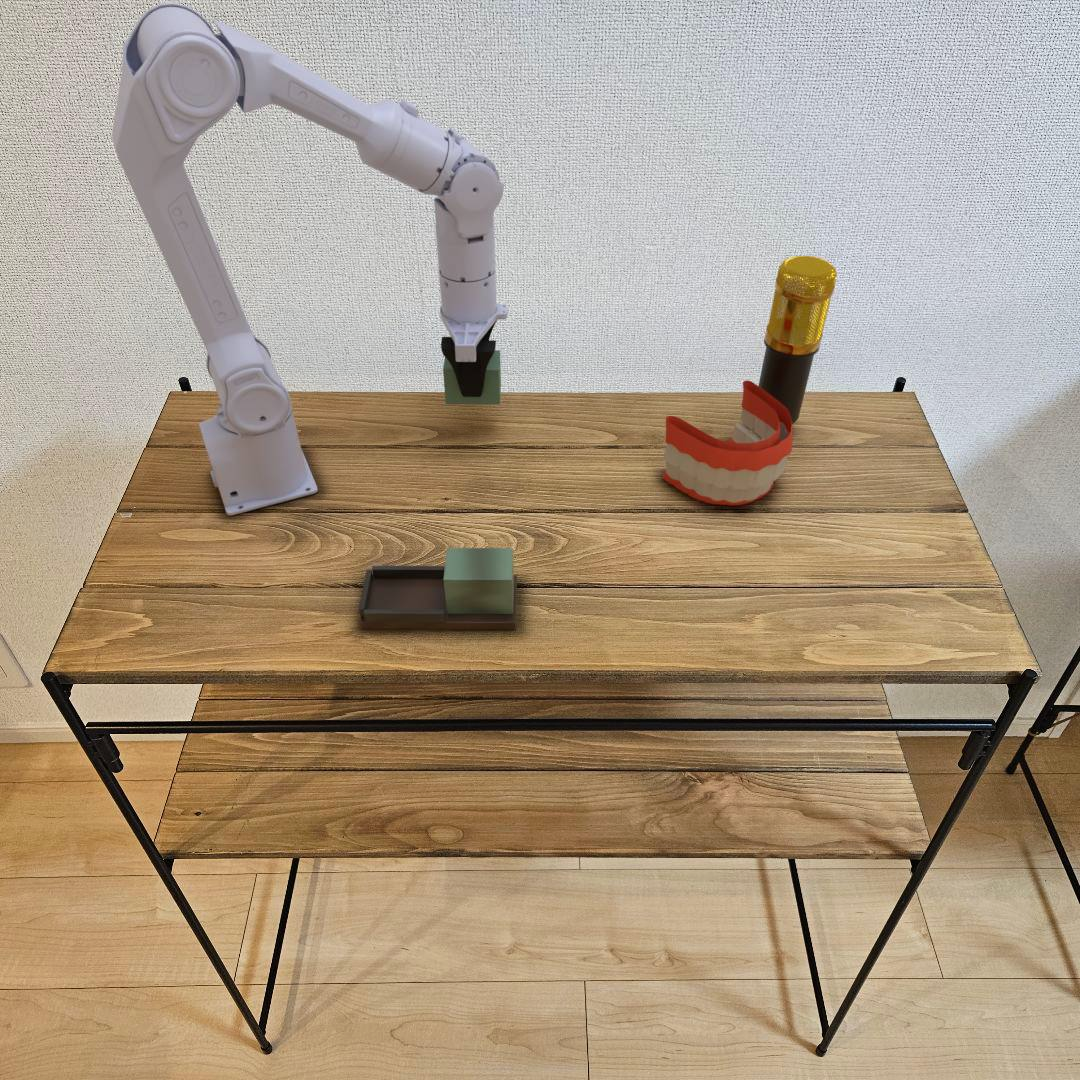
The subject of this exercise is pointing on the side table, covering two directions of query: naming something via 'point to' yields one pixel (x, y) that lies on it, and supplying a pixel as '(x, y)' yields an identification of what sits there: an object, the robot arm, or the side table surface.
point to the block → (489, 390)
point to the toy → (731, 453)
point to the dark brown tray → (444, 593)
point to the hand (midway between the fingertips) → (473, 383)
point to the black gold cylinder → (796, 328)
